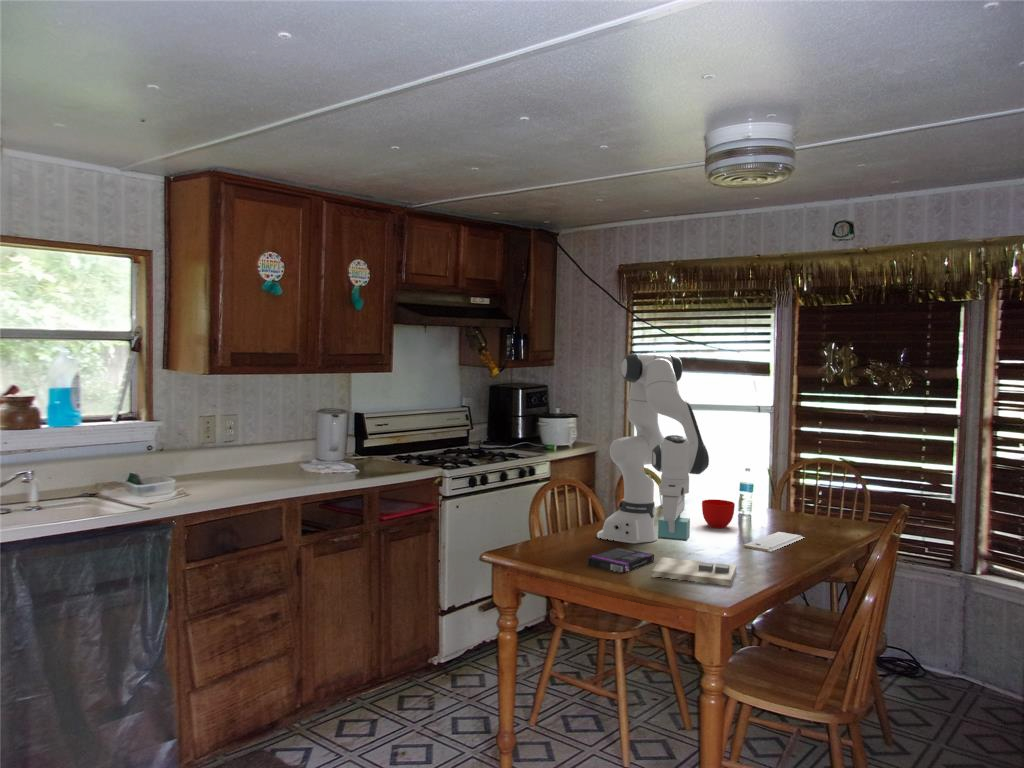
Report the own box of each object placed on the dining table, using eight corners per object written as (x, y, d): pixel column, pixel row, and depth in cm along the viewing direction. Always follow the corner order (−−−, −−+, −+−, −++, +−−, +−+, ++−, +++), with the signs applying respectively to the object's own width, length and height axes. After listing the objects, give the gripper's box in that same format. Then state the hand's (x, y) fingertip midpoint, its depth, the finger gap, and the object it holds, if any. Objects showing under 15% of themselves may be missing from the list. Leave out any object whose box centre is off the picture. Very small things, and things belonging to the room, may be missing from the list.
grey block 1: (698, 570, 251) (698, 565, 251) (700, 567, 255) (700, 562, 255) (711, 571, 249) (711, 566, 249) (713, 568, 253) (713, 563, 253)
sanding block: (658, 538, 254) (658, 519, 254) (661, 534, 260) (662, 516, 260) (686, 541, 251) (686, 522, 250) (689, 536, 257) (689, 518, 256)
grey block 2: (714, 571, 249) (715, 566, 249) (716, 568, 253) (716, 563, 253) (728, 573, 248) (728, 568, 248) (729, 570, 251) (729, 565, 251)
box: (623, 576, 253) (654, 563, 268) (623, 565, 253) (655, 553, 268) (587, 567, 262) (619, 555, 277) (587, 556, 262) (620, 545, 277)
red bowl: (729, 521, 335) (730, 498, 334) (736, 530, 318) (737, 506, 317) (698, 520, 336) (698, 497, 336) (703, 529, 319) (704, 504, 319)
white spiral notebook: (808, 540, 306) (778, 535, 314) (808, 533, 306) (778, 528, 314) (774, 554, 283) (743, 549, 291) (775, 546, 282) (743, 541, 290)
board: (651, 577, 249) (651, 570, 249) (662, 563, 266) (662, 557, 266) (730, 586, 241) (730, 579, 241) (736, 571, 257) (736, 565, 257)
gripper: (670, 481, 266) (669, 522, 266) (659, 490, 246) (658, 535, 247) (689, 482, 263) (688, 524, 264) (679, 492, 244) (678, 536, 245)
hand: (674, 529), depth 255 cm, fingers closed on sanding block, 6 cm apart
